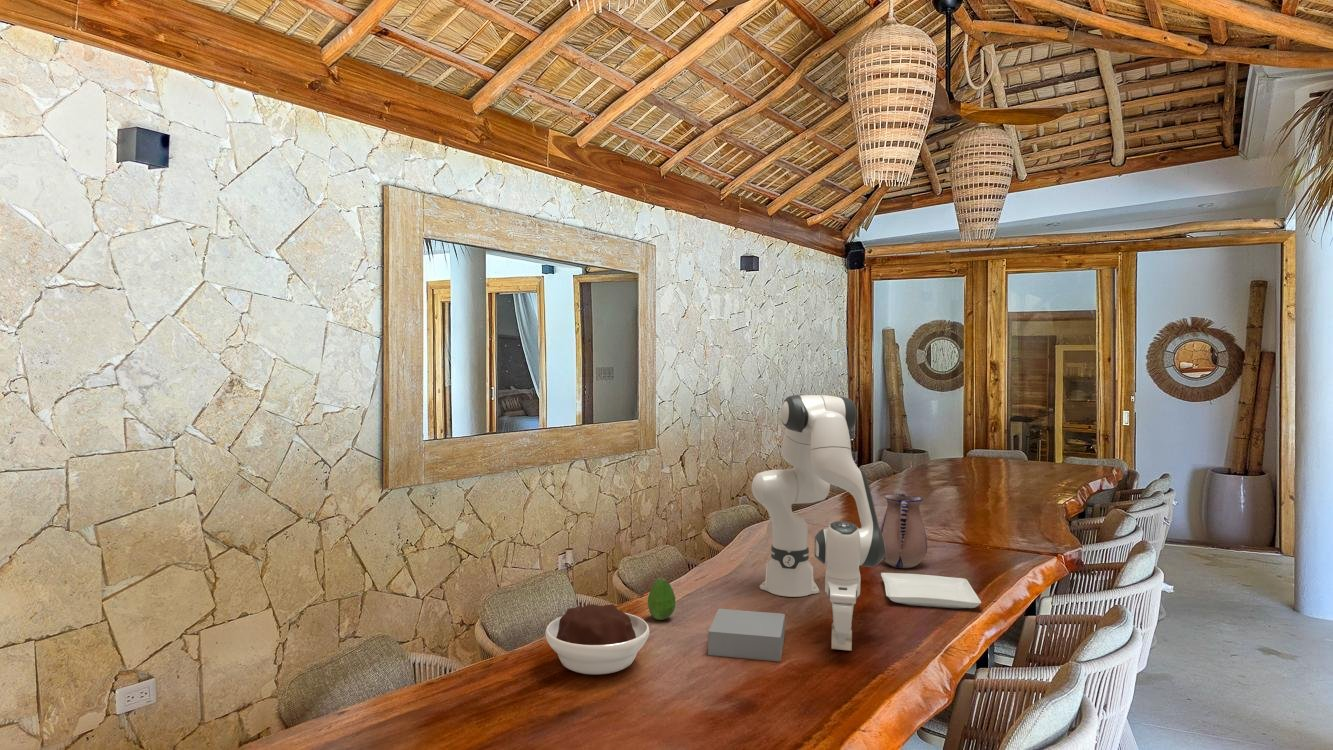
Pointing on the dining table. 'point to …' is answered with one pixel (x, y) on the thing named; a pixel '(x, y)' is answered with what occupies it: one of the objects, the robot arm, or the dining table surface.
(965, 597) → the square plate
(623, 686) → the dining table surface
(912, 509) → the ceramic pitcher
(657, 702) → the dining table surface
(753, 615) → the pedestal
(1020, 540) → the dining table surface
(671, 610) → the avocado
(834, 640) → the cream cube
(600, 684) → the dining table surface
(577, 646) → the chocolate pudding bowl
